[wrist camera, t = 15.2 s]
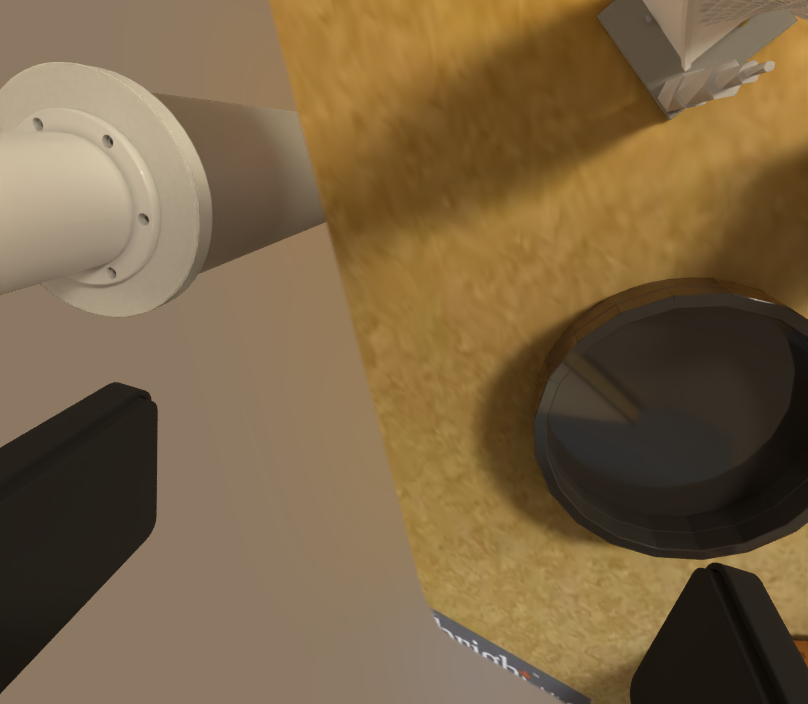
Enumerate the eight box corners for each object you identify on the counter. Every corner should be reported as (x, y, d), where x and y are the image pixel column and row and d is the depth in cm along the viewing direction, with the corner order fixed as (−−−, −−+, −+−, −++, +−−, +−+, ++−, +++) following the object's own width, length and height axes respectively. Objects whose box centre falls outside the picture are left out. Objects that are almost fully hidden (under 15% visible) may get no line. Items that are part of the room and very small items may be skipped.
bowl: (503, 478, 41) (501, 511, 37) (583, 245, 34) (590, 258, 30) (749, 551, 39) (772, 593, 35) (893, 320, 31) (941, 344, 28)
